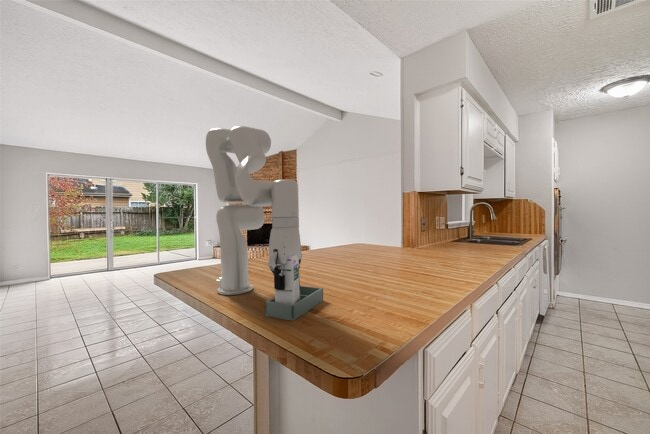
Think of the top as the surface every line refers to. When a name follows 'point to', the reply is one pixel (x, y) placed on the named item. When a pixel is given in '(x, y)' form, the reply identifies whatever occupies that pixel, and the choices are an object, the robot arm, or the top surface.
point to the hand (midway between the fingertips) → (287, 285)
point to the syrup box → (290, 283)
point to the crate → (292, 312)
